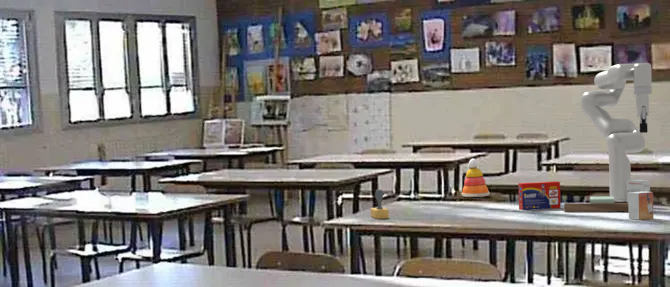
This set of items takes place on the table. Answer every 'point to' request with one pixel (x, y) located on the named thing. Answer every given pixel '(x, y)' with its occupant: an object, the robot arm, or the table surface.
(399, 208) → the table surface
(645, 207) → the small box
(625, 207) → the walnut board
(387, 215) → the rubber stamp
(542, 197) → the toy box
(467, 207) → the table surface
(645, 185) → the ink box
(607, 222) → the table surface
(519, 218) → the table surface
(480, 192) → the stacking toy
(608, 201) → the green block
